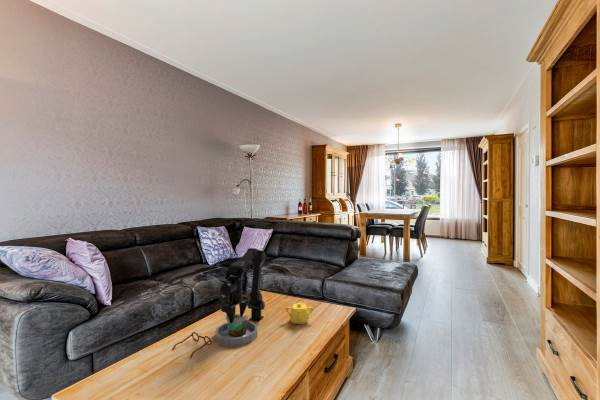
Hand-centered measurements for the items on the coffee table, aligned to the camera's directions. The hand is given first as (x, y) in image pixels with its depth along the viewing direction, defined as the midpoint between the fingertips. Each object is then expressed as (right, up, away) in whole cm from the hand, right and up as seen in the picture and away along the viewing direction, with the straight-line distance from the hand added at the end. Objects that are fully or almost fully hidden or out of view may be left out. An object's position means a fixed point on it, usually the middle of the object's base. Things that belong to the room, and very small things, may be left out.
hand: (236, 319), depth 151 cm
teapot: (+32, -8, +17) cm, 37 cm away
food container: (-1, -8, -1) cm, 8 cm away
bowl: (0, -8, 0) cm, 8 cm away
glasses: (-19, -9, -12) cm, 24 cm away
